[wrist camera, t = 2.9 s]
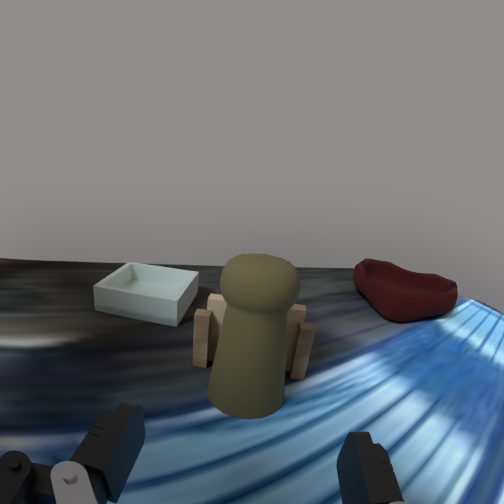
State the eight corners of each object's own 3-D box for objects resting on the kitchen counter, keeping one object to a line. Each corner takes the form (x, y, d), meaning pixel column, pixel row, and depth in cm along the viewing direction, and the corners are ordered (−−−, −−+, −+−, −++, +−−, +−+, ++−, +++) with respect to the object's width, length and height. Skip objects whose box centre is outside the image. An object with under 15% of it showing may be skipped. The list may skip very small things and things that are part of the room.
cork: (249, 363, 27) (265, 243, 24) (299, 398, 23) (328, 265, 20) (191, 384, 23) (197, 249, 20) (240, 430, 19) (261, 278, 16)
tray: (95, 310, 32) (93, 285, 31) (129, 282, 42) (129, 261, 41) (176, 326, 32) (177, 300, 31) (197, 293, 42) (198, 271, 41)
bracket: (192, 365, 26) (197, 266, 23) (204, 336, 31) (210, 249, 29) (303, 379, 25) (325, 282, 23) (299, 348, 30) (315, 262, 28)
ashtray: (328, 307, 42) (335, 273, 41) (360, 281, 56) (366, 255, 54) (449, 344, 33) (462, 309, 32) (450, 307, 46) (458, 280, 45)
